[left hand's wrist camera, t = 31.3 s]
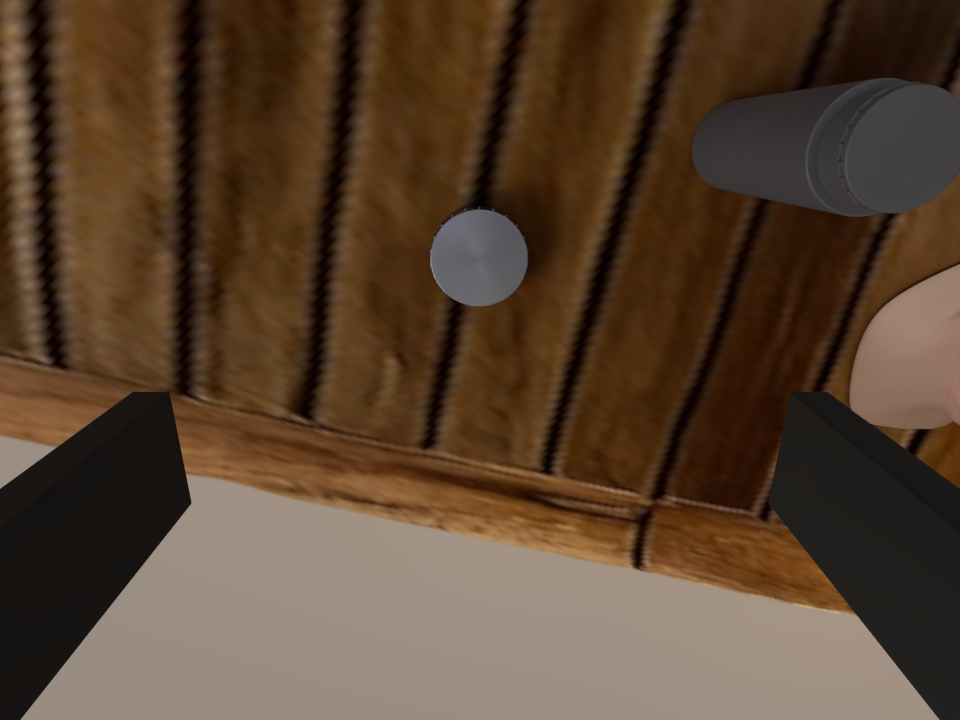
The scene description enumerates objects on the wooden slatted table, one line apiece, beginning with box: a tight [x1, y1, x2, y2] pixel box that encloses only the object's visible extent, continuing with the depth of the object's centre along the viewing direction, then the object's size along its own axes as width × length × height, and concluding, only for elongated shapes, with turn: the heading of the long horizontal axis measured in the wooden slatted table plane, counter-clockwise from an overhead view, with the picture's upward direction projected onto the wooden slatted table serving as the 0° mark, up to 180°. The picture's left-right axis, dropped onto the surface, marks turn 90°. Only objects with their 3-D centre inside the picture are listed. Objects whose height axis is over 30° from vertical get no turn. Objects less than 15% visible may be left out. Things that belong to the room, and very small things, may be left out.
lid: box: [430, 204, 528, 307], centre depth 36 cm, size 6×6×2 cm
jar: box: [692, 78, 960, 217], centre depth 28 cm, size 5×5×15 cm
